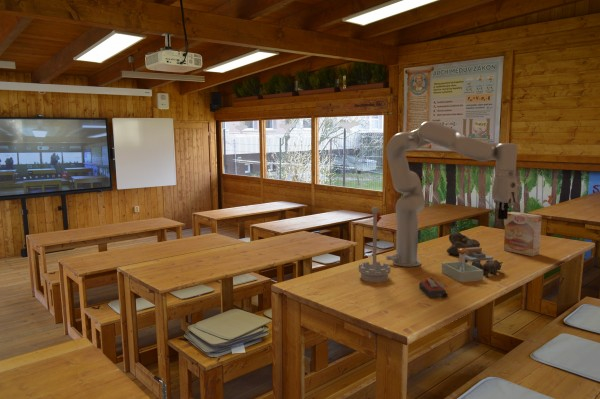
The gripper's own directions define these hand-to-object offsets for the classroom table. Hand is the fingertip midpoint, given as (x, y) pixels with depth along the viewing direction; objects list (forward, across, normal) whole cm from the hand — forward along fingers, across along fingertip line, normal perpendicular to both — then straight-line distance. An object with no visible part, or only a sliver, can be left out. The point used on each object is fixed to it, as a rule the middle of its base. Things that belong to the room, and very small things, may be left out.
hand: (502, 218), depth 191 cm
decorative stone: (+25, +38, -8) cm, 46 cm away
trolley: (+25, +16, 0) cm, 29 cm away
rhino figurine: (+25, +5, -1) cm, 26 cm away
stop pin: (+24, +6, +14) cm, 28 cm away
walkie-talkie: (+25, -6, +35) cm, 43 cm away
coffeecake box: (+25, +32, -37) cm, 55 cm away
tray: (+25, +6, +14) cm, 29 cm away
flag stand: (+25, +14, +50) cm, 58 cm away
